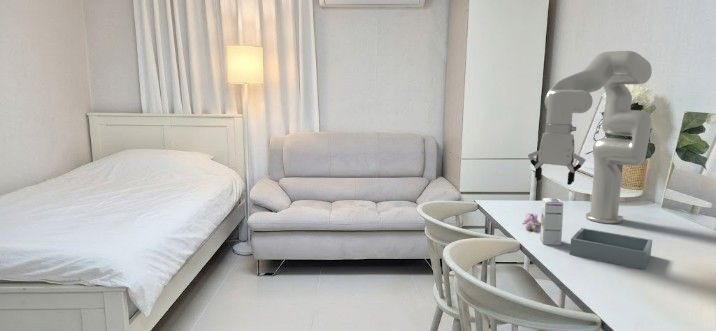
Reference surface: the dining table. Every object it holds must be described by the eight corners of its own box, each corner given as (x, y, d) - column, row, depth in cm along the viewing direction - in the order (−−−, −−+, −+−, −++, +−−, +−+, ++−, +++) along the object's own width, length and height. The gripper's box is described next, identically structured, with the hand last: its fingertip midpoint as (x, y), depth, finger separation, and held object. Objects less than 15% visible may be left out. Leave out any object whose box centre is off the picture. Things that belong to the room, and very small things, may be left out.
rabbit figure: (540, 236, 165) (539, 218, 178) (541, 221, 163) (541, 204, 176) (521, 234, 167) (522, 217, 180) (522, 219, 165) (523, 203, 178)
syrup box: (561, 245, 152) (564, 202, 149) (542, 244, 153) (545, 201, 150) (557, 240, 157) (560, 198, 155) (539, 238, 159) (542, 197, 156)
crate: (580, 242, 155) (581, 227, 154) (650, 255, 143) (652, 239, 142) (569, 254, 144) (570, 238, 143) (644, 269, 132) (646, 252, 131)
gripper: (590, 130, 146) (585, 183, 149) (534, 127, 157) (530, 177, 159) (585, 132, 140) (579, 187, 143) (527, 128, 151) (523, 180, 154)
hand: (553, 182), depth 151 cm, fingers open, 9 cm apart
